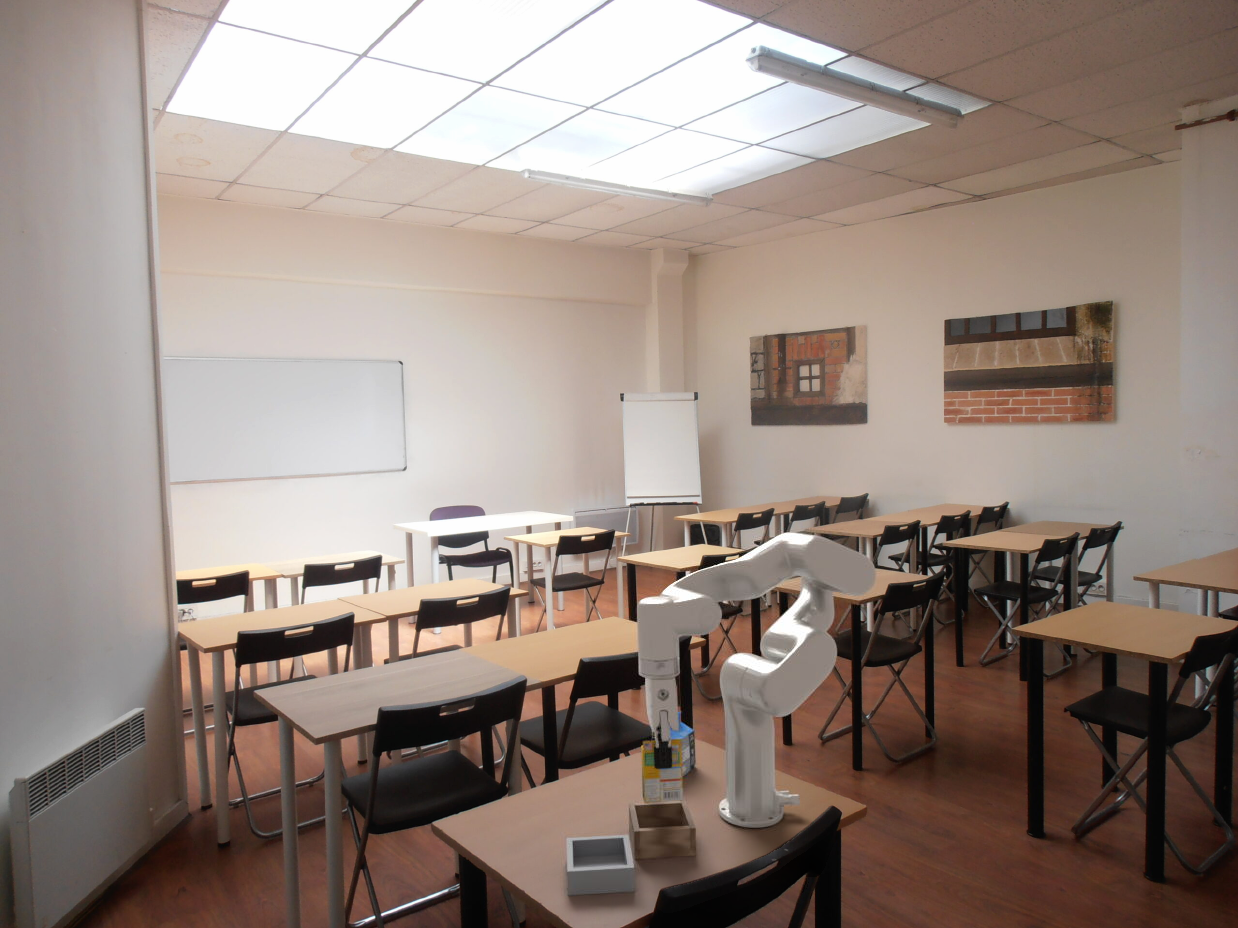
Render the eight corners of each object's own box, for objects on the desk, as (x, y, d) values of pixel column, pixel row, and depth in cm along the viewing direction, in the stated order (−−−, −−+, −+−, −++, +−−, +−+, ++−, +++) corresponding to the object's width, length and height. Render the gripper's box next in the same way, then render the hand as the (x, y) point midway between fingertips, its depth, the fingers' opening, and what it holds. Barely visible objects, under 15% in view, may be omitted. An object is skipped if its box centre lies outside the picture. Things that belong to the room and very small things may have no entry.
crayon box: (680, 793, 150) (679, 732, 149) (683, 800, 147) (682, 738, 146) (642, 795, 149) (640, 734, 149) (644, 803, 146) (642, 741, 146)
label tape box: (678, 781, 174) (677, 725, 173) (662, 777, 176) (661, 722, 175) (696, 766, 181) (695, 713, 181) (680, 763, 183) (679, 710, 183)
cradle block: (628, 856, 143) (628, 834, 143) (634, 891, 132) (634, 867, 132) (567, 859, 142) (566, 837, 142) (567, 895, 131) (567, 871, 131)
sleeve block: (686, 825, 154) (685, 799, 154) (696, 855, 143) (695, 827, 143) (629, 828, 153) (628, 803, 153) (634, 858, 142) (634, 831, 142)
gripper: (686, 677, 139) (689, 781, 140) (672, 651, 155) (675, 744, 156) (643, 679, 138) (646, 784, 139) (634, 653, 155) (637, 747, 155)
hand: (661, 762), depth 148 cm, fingers closed on crayon box, 3 cm apart
